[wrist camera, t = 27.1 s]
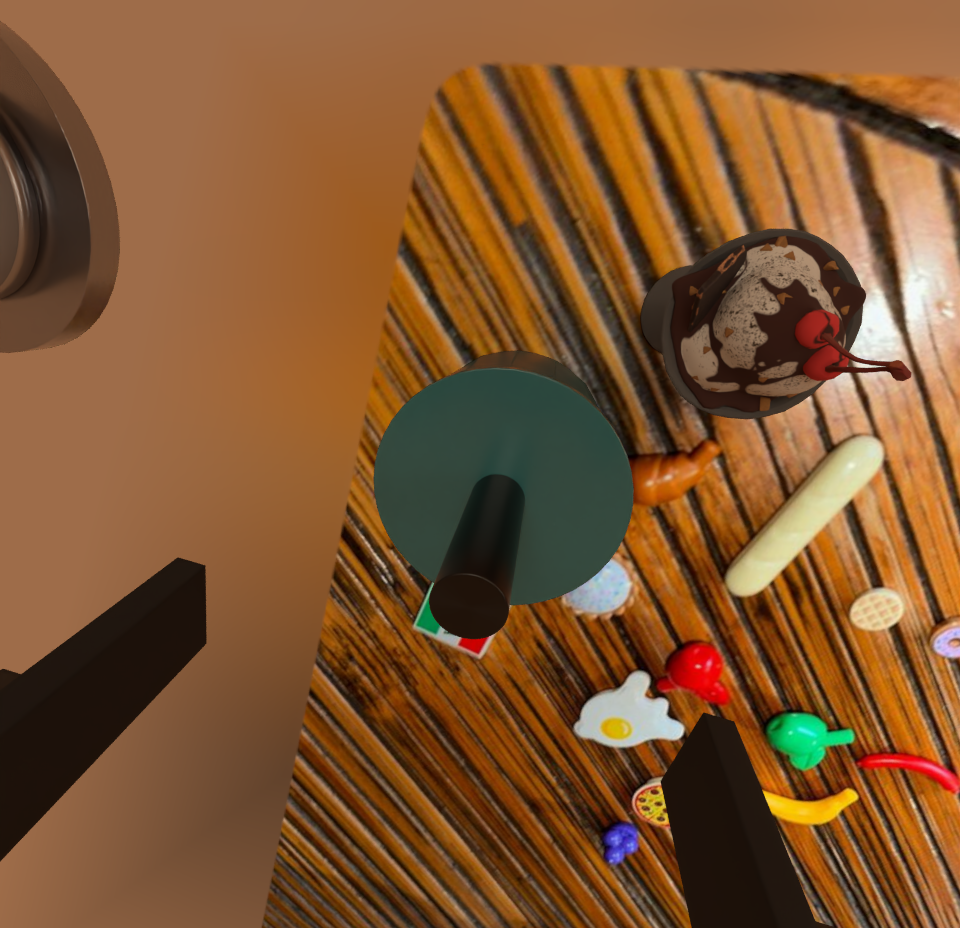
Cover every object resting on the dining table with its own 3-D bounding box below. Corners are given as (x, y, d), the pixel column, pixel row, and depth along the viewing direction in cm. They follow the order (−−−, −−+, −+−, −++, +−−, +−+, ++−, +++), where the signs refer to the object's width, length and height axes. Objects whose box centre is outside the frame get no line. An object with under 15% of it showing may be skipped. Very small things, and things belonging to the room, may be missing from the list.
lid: (366, 555, 26) (275, 686, 18) (402, 332, 21) (298, 367, 13) (582, 619, 25) (594, 787, 17) (672, 404, 20) (752, 492, 12)
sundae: (757, 354, 26) (979, 435, 12) (636, 384, 28) (713, 484, 14) (746, 230, 24) (997, 162, 10) (615, 270, 26) (681, 258, 12)
